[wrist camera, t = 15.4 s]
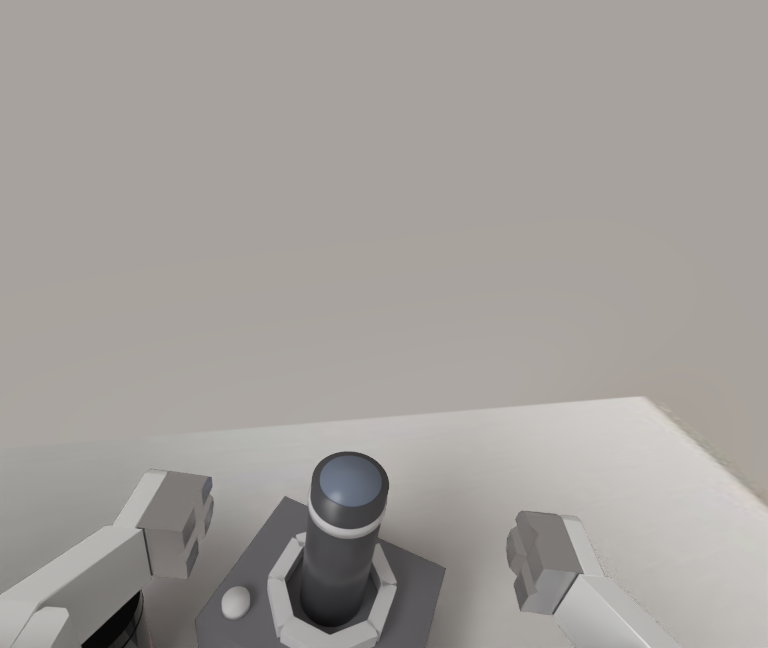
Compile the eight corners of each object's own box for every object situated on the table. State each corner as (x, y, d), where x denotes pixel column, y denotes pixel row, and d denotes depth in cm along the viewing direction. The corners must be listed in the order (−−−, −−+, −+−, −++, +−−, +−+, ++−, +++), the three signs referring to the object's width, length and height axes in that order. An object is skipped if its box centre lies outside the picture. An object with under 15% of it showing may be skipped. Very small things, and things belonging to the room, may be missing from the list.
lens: (285, 609, 33) (294, 493, 27) (318, 550, 37) (333, 438, 31) (347, 641, 32) (373, 528, 25) (374, 577, 36) (401, 466, 30)
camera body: (199, 660, 35) (193, 608, 31) (282, 535, 45) (285, 485, 41) (387, 769, 31) (406, 725, 27) (431, 605, 41) (449, 557, 37)
